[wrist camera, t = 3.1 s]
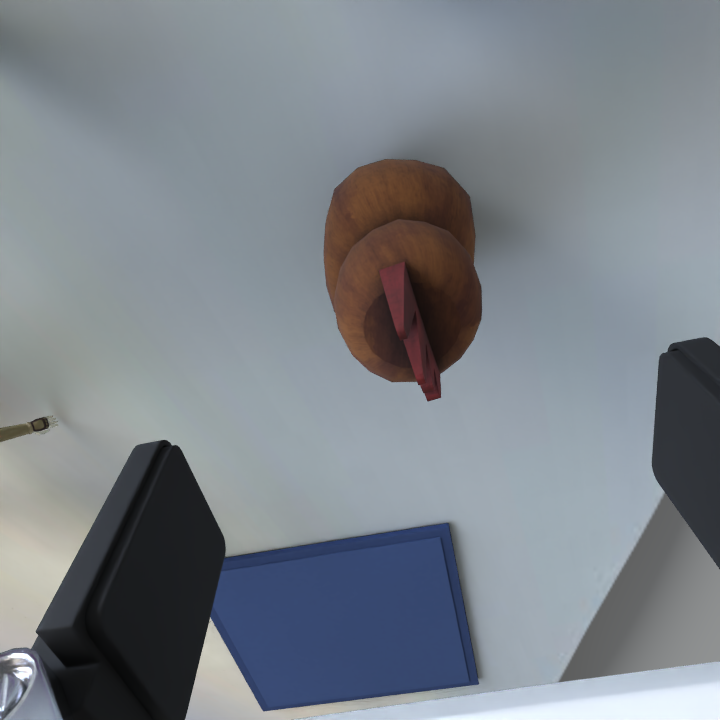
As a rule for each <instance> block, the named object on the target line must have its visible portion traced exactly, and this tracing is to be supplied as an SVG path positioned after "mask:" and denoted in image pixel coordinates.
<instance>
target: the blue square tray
mask: <svg viewBox="0 0 720 720" xmlns="http://www.w3.org/2000/svg"><path fill="white" fill-rule="evenodd" d="M210 617H211V619H212V621H213V623H214V624H215V626H216V628H217V630H218V632H219V633H220V635H221V637H222V639H223V640H224V642H225V644H226V646H227V648H228V649H229V651H230V653H231V655H232V657H233V658H234V660H235V662H236V664H237V665H238V667H239V669H240V671H241V673H242V674H243V676H244V678H245V680H246V682H247V683H248V685H249V687H250V689H251V690H252V692H253V694H254V696H255V698H256V699H257V701H258V703H259V705H260V707H261V708H262V710H263V711H270V710H278V709H286V708H294V707H302V706H310V705H318V704H326V703H334V702H342V701H350V700H358V699H366V698H374V697H382V696H390V695H398V694H406V693H414V692H422V691H430V690H438V689H446V688H454V687H462V686H470V685H478V684H479V682H478V676H477V671H476V666H475V660H474V655H473V650H472V645H471V639H470V634H469V629H468V623H467V618H466V613H465V608H464V602H463V597H462V592H461V587H460V581H459V576H458V571H457V565H456V560H455V555H454V550H453V544H452V539H451V534H450V528H449V524H448V523H445V524H439V525H433V526H426V527H420V528H413V529H407V530H401V531H394V532H388V533H381V534H375V535H369V536H362V537H356V538H349V539H343V540H337V541H330V542H324V543H317V544H311V545H305V546H298V547H292V548H285V549H279V550H273V551H266V552H260V553H253V554H247V555H241V556H234V557H228V558H224V562H223V566H222V570H221V574H220V578H219V582H218V586H217V590H216V595H215V599H214V603H213V607H212V611H211V615H210Z"/></svg>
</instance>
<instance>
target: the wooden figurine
mask: <svg viewBox="0 0 720 720" xmlns="http://www.w3.org/2000/svg"><path fill="white" fill-rule="evenodd" d="M474 251H475V229H474V222H473V215H472V208H471V201H470V196H469V195H468V194H467V192H466V191H465V190H464V189H463V188H462V187H461V186H460V185H459V183H458V182H457V181H456V180H455V179H454V178H453V177H452V176H451V175H450V174H449V173H448V172H447V171H446V169H445V168H442V167H439V166H435V165H431V164H428V163H424V162H421V161H417V160H394V159H385V160H381V161H378V162H375V163H371V164H368V165H365V166H361V167H358V168H357V169H356V170H355V171H354V172H352V173H351V174H350V175H349V176H348V177H347V178H346V179H345V180H344V181H343V182H342V183H341V184H340V185H338V186H337V187H336V188H335V189H334V193H333V197H332V200H331V204H330V207H329V211H328V215H327V219H326V224H325V240H324V265H325V276H326V286H327V289H328V292H329V296H330V299H331V302H332V305H333V309H334V312H335V313H336V319H337V324H338V329H339V331H340V333H341V335H342V337H343V339H344V340H345V342H346V344H347V346H348V348H349V350H350V352H351V353H352V355H353V356H354V357H355V358H356V359H357V360H358V361H359V362H360V363H361V364H362V365H363V366H364V367H365V368H367V369H368V370H369V371H370V372H372V373H374V374H376V375H378V376H380V377H382V378H384V379H387V380H389V381H391V382H418V385H420V386H421V388H422V391H423V393H425V396H426V399H427V401H431V400H434V399H438V398H441V383H440V374H441V373H442V372H444V371H445V370H446V369H448V368H449V367H450V366H451V365H453V364H454V363H455V362H456V361H458V360H459V359H460V358H461V357H462V355H463V354H464V353H465V351H466V350H467V348H468V347H469V346H470V344H471V343H472V341H473V340H474V337H475V334H476V332H477V329H478V326H479V324H480V321H481V316H482V290H481V284H480V282H479V279H478V276H477V273H476V270H475V267H474Z"/></svg>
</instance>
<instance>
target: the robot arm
mask: <svg viewBox="0 0 720 720" xmlns="http://www.w3.org/2000/svg"><path fill="white" fill-rule="evenodd" d="M652 468H653V472H654V475H655V478H656V480H657V481H658V483H659V484H660V486H661V487H662V489H663V490H664V491H665V493H666V494H667V496H668V497H669V499H670V500H671V501H672V503H673V504H674V505H675V507H676V508H677V510H678V511H679V513H680V514H681V515H682V517H683V518H684V519H685V521H686V522H687V524H688V525H689V527H690V528H691V529H692V531H693V532H694V534H695V535H696V536H697V538H698V539H699V541H700V542H701V543H702V545H703V546H704V548H705V549H706V550H707V552H708V553H709V555H710V556H711V558H712V559H713V560H714V562H715V563H716V565H717V566H718V567H719V569H720V346H718V345H717V344H716V343H715V342H713V341H712V340H711V339H709V338H705V337H703V338H698V339H692V340H687V341H682V342H676V343H673V344H671V345H670V346H669V348H668V352H666V353H662V354H661V356H660V358H659V367H658V381H657V396H656V410H655V425H654V439H653V454H652ZM225 551H226V547H225V540H224V537H223V534H222V532H221V530H220V528H219V526H218V524H217V522H216V520H215V518H214V516H213V514H212V512H211V510H210V508H209V506H208V504H207V502H206V500H205V498H204V495H203V493H202V491H201V489H200V487H199V485H198V483H197V481H196V479H195V477H194V475H193V473H192V471H191V469H190V467H189V465H188V463H187V461H186V459H185V457H184V455H183V453H182V451H181V449H180V447H178V446H177V445H173V446H172V445H171V443H170V442H168V441H167V440H161V441H156V442H150V443H145V444H140V445H137V446H135V448H134V449H133V451H132V452H131V454H130V456H129V458H128V460H127V462H126V464H125V466H124V467H123V469H122V471H121V473H120V475H119V477H118V479H117V481H116V482H115V484H114V486H113V488H112V490H111V492H110V494H109V495H108V497H107V499H106V501H105V503H104V505H103V507H102V509H101V510H100V512H99V514H98V516H97V518H96V520H95V522H94V523H93V525H92V527H91V529H90V531H89V533H88V535H87V537H86V538H85V540H84V542H83V544H82V546H81V548H80V550H79V551H78V553H77V555H76V557H75V559H74V561H73V563H72V565H71V566H70V568H69V570H68V572H67V574H66V576H65V578H64V579H63V581H62V583H61V585H60V587H59V589H58V591H57V593H56V594H55V596H54V598H53V600H52V602H51V604H50V606H49V607H48V609H47V611H46V613H45V615H44V617H43V619H42V621H41V622H40V624H39V626H38V628H37V630H36V633H37V634H38V637H37V639H36V641H35V643H34V645H33V647H32V649H29V648H14V649H11V650H8V651H5V652H2V653H0V720H185V717H186V714H187V710H188V706H189V702H190V697H191V693H192V689H193V685H194V681H195V677H196V673H197V669H198V664H199V660H200V656H201V652H202V648H203V644H204V640H205V636H206V632H207V627H208V623H209V619H210V615H211V611H212V607H213V603H214V599H215V595H216V590H217V586H218V582H219V578H220V574H221V570H222V566H223V562H224V557H225ZM293 720H720V661H718V662H710V663H702V664H695V665H687V666H680V667H672V668H665V669H657V670H650V671H642V672H634V673H627V674H619V675H612V676H604V677H597V678H589V679H581V680H574V681H567V682H559V683H551V684H544V685H537V686H530V687H522V688H515V689H508V690H500V691H493V692H486V693H478V694H471V695H464V696H457V697H449V698H442V699H435V700H428V701H421V702H413V703H406V704H399V705H392V706H384V707H377V708H370V709H363V710H356V711H349V712H342V713H335V714H328V715H321V716H314V717H307V718H300V719H293Z"/></svg>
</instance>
